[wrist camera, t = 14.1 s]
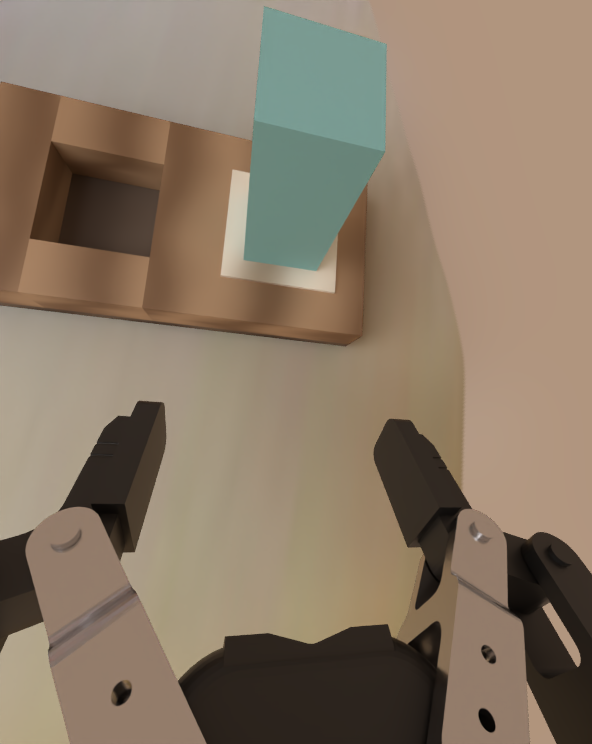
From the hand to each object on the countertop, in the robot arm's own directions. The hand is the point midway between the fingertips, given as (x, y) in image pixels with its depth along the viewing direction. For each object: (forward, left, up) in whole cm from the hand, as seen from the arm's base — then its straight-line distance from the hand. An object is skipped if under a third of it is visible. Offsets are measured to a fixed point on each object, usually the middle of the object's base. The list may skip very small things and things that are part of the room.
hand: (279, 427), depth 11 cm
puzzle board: (-10, +8, -10) cm, 16 cm away
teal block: (-6, +10, -6) cm, 13 cm away
